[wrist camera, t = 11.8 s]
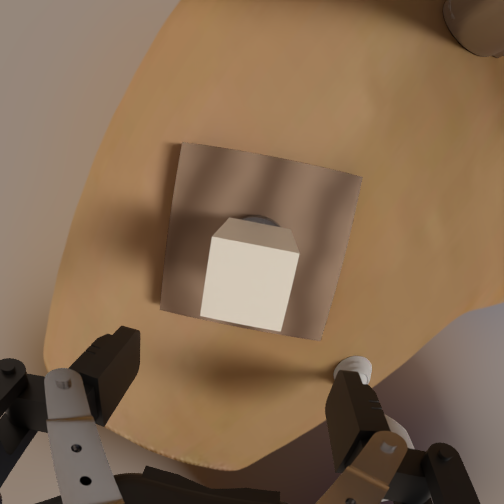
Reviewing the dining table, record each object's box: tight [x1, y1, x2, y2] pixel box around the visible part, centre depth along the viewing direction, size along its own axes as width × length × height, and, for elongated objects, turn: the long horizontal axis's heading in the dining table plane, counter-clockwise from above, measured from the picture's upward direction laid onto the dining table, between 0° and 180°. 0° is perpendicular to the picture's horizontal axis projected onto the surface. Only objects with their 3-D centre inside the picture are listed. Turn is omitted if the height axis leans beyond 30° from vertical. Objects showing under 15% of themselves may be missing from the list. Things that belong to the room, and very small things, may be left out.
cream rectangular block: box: [200, 217, 300, 332], centre depth 25 cm, size 6×6×9 cm
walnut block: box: [160, 142, 362, 341], centre depth 33 cm, size 18×18×2 cm
